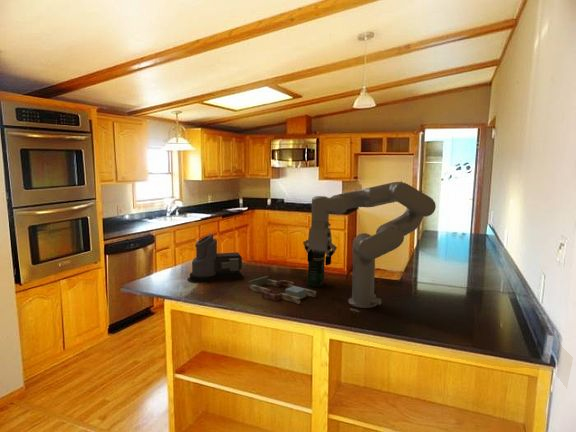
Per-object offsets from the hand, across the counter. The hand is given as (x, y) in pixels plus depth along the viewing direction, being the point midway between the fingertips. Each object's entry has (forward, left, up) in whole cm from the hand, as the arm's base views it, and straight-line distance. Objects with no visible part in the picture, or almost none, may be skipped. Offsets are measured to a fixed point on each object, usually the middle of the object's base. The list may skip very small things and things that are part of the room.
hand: (318, 263), depth 170 cm
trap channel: (+21, 0, -18) cm, 28 cm away
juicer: (+65, +5, -19) cm, 68 cm away
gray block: (+13, 0, -19) cm, 23 cm away
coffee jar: (+17, -22, -19) cm, 33 cm away
